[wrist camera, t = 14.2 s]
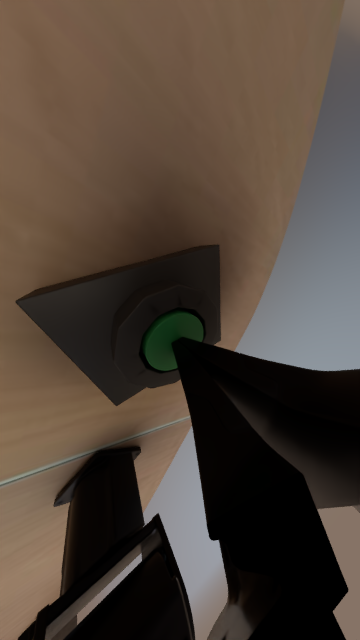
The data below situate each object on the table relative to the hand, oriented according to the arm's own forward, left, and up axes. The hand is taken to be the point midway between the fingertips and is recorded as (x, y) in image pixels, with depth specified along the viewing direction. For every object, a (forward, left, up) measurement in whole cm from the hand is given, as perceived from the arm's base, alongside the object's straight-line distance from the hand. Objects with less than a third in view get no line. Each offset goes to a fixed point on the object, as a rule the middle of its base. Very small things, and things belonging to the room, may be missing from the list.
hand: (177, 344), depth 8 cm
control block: (0, 0, -4) cm, 4 cm away
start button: (0, 0, -2) cm, 2 cm away
